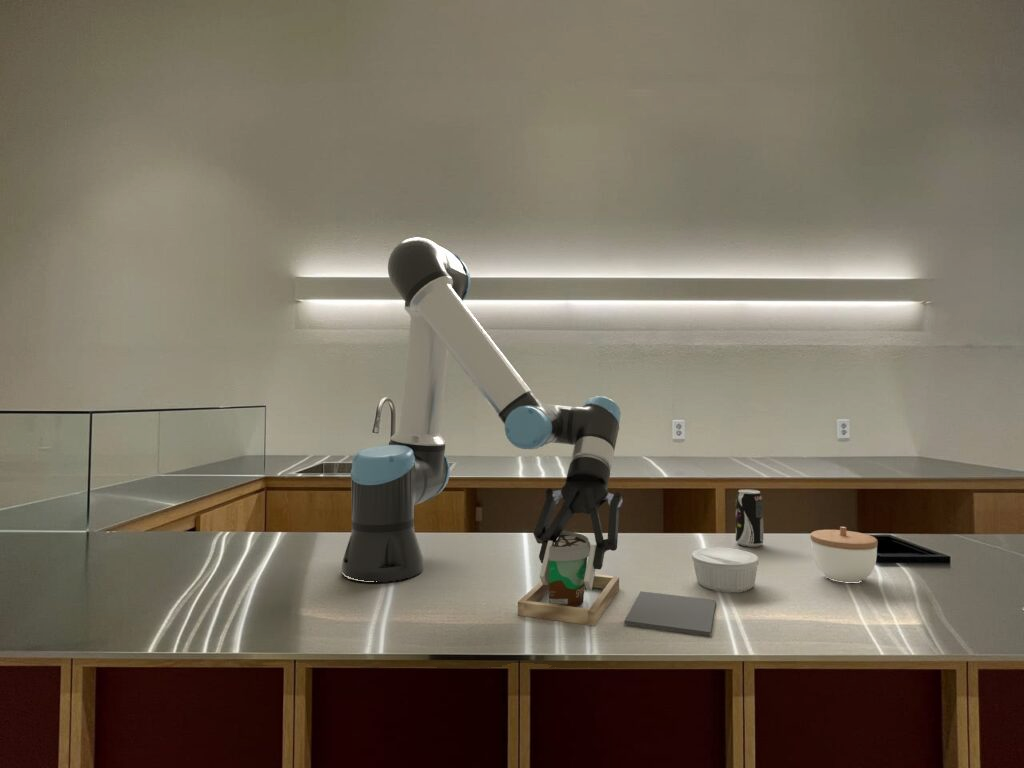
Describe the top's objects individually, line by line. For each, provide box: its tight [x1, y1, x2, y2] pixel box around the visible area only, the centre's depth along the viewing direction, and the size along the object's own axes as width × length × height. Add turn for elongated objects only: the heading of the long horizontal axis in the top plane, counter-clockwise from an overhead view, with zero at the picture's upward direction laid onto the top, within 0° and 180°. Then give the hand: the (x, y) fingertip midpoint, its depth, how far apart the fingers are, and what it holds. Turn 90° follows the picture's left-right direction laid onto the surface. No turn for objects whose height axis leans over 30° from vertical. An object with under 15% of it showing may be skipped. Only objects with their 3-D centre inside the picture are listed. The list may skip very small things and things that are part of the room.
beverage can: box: [734, 488, 764, 548], centre depth 136 cm, size 6×6×12 cm
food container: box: [548, 530, 591, 607], centre depth 100 cm, size 12×6×10 cm, turn 168°
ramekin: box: [691, 546, 760, 593], centre depth 108 cm, size 11×11×5 cm
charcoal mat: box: [624, 590, 717, 637], centre depth 94 cm, size 12×14×1 cm
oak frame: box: [517, 573, 620, 627], centre depth 100 cm, size 12×18×2 cm, turn 159°
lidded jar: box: [810, 526, 879, 582], centre depth 111 cm, size 11×11×9 cm
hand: (565, 583), depth 97 cm, fingers closed on food container, 6 cm apart
